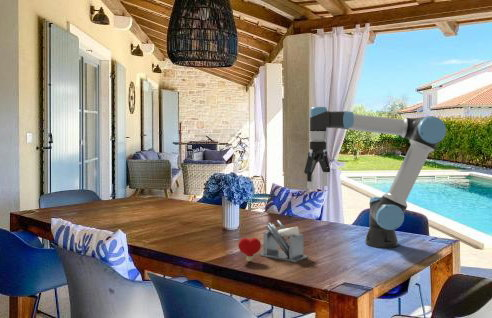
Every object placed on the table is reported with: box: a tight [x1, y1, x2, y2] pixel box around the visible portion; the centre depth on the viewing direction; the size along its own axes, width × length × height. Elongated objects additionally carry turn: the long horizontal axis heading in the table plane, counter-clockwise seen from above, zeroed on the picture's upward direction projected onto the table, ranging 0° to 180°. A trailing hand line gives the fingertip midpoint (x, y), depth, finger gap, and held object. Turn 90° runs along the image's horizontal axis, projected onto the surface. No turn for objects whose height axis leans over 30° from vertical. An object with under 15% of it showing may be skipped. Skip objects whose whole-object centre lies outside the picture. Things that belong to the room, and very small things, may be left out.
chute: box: [259, 219, 308, 263], centre depth 212 cm, size 18×10×15 cm, turn 53°
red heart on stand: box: [238, 237, 262, 263], centre depth 203 cm, size 9×7×10 cm
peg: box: [278, 226, 300, 238], centre depth 210 cm, size 4×4×9 cm
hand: (317, 187), depth 223 cm, fingers open, 13 cm apart
